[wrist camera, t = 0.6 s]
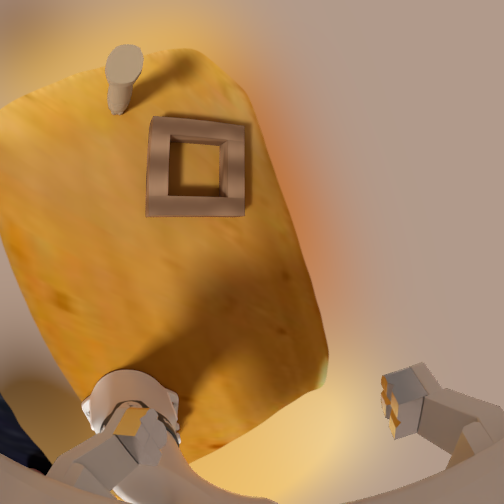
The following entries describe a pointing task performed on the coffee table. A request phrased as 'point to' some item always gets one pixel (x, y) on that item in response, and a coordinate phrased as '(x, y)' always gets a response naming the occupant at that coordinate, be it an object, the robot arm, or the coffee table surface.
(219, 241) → the coffee table surface
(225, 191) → the collar
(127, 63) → the beige bolt
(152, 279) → the coffee table surface
